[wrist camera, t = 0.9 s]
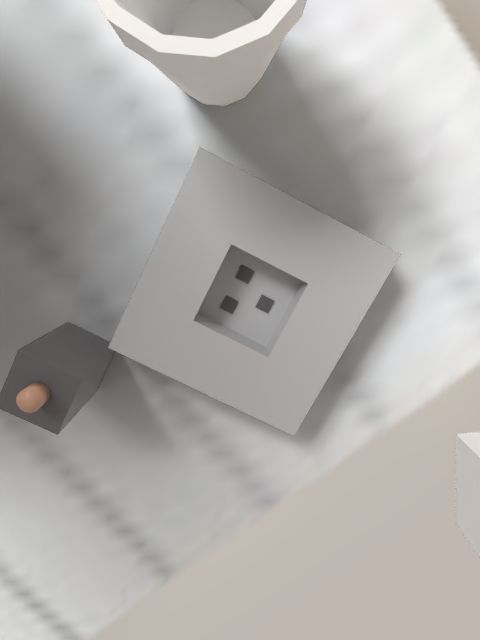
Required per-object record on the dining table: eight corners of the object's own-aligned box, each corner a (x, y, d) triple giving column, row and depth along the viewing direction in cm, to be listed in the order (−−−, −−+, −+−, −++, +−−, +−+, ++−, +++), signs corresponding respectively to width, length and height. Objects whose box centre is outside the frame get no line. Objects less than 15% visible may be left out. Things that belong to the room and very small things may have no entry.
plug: (48, 367, 32) (-17, 415, 24) (67, 322, 32) (7, 355, 24) (96, 390, 33) (48, 444, 25) (117, 345, 32) (74, 386, 24)
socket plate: (122, 334, 32) (107, 347, 28) (204, 156, 29) (199, 146, 25) (288, 414, 33) (293, 436, 29) (382, 250, 30) (400, 254, 27)
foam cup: (262, 150, 29) (276, 92, 16) (129, 105, 28) (35, 9, 16) (310, -3, 27) (369, -208, 14) (168, -55, 26) (96, -316, 14)
